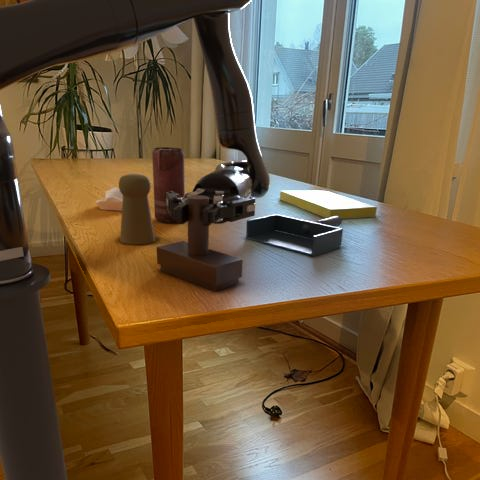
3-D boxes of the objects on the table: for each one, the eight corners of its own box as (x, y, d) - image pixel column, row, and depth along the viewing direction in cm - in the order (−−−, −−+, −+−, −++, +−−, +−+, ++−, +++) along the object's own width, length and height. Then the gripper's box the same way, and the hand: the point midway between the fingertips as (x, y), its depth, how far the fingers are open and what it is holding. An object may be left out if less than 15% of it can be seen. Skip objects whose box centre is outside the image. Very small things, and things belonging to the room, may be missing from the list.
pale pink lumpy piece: (103, 192, 99) (88, 185, 106) (105, 213, 101) (90, 205, 108) (147, 189, 104) (130, 182, 112) (148, 209, 106) (131, 201, 113)
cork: (123, 245, 79) (118, 177, 75) (117, 236, 84) (112, 172, 80) (158, 243, 82) (156, 176, 77) (151, 234, 87) (148, 171, 82)
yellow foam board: (375, 216, 108) (320, 197, 128) (377, 206, 107) (321, 189, 127) (329, 219, 103) (279, 199, 123) (330, 209, 102) (280, 190, 122)
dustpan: (313, 256, 77) (315, 236, 76) (245, 238, 86) (246, 220, 85) (371, 236, 91) (374, 219, 89) (307, 222, 100) (309, 207, 98)
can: (149, 222, 95) (145, 148, 90) (163, 215, 101) (161, 146, 95) (176, 225, 94) (175, 150, 88) (189, 218, 99) (189, 147, 93)
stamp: (215, 293, 61) (216, 206, 57) (157, 270, 68) (154, 192, 64) (241, 283, 64) (245, 202, 60) (183, 263, 72) (182, 188, 67)
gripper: (179, 167, 75) (138, 183, 60) (267, 172, 73) (247, 190, 57) (180, 215, 78) (141, 241, 63) (264, 221, 76) (245, 250, 60)
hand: (192, 217), depth 60 cm, fingers closed on stamp, 3 cm apart
